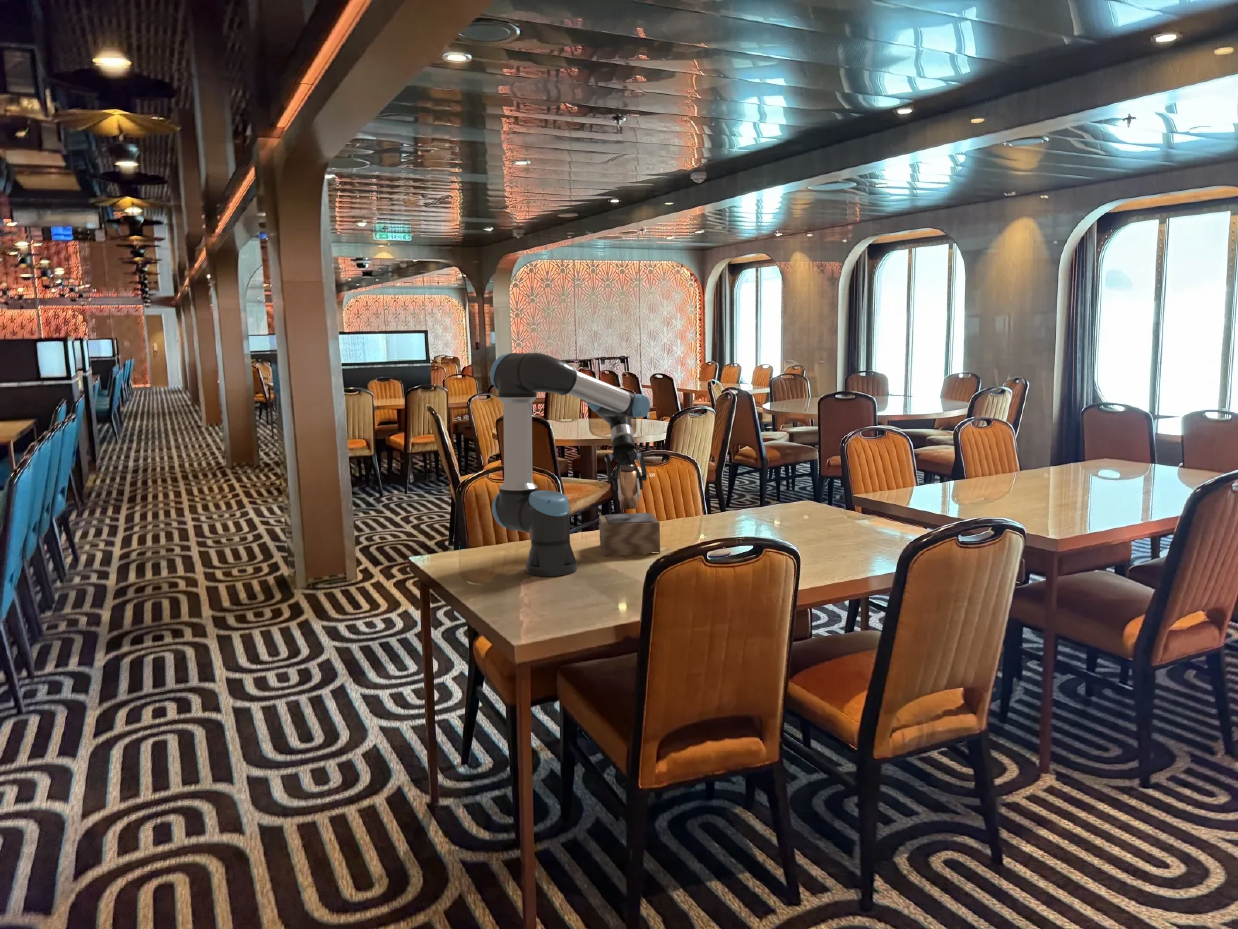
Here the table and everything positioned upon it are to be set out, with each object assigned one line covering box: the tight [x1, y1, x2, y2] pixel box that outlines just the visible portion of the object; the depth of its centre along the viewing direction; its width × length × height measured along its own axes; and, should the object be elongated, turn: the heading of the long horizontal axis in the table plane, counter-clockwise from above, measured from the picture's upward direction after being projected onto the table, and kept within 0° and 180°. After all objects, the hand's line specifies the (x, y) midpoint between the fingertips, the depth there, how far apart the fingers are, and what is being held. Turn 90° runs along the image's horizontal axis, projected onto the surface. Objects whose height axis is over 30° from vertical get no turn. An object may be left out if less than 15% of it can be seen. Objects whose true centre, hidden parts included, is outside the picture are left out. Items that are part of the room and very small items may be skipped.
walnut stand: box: [598, 512, 661, 557], centre depth 284 cm, size 18×16×10 cm
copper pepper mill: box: [618, 464, 638, 510], centre depth 282 cm, size 6×6×14 cm
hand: (629, 497), depth 278 cm, fingers closed on copper pepper mill, 5 cm apart
